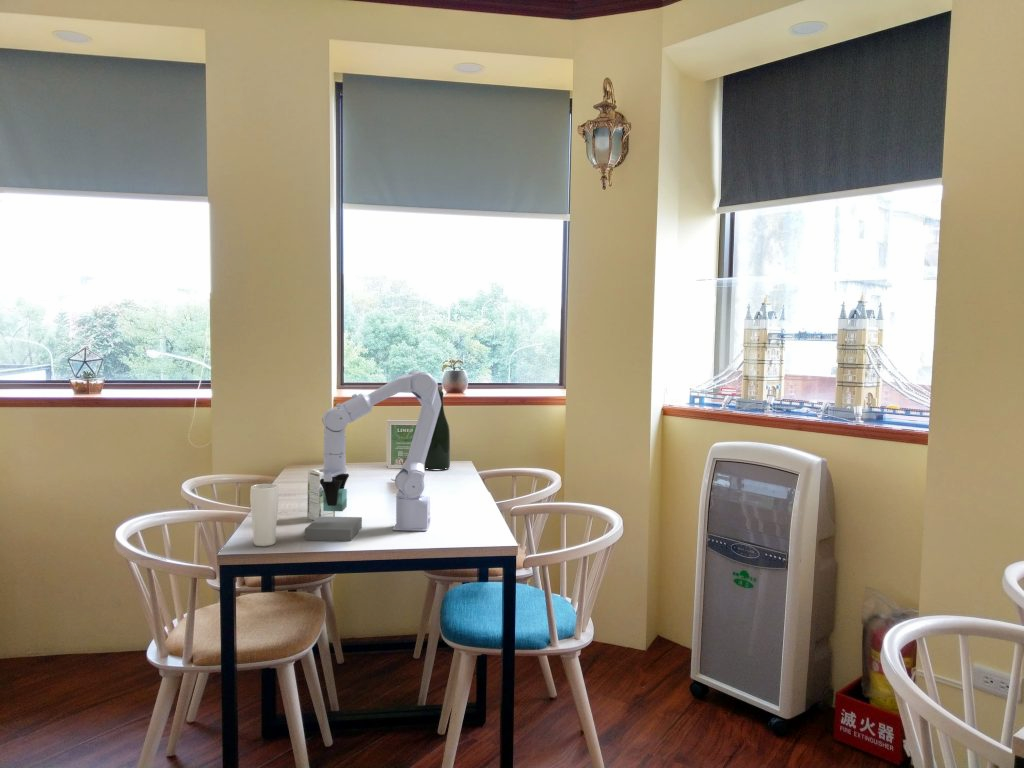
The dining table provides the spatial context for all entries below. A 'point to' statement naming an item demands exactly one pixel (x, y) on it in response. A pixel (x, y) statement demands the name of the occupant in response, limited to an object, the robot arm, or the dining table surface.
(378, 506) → the dining table surface
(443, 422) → the dark green bottle
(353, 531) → the gray square slab
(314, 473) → the syrup box
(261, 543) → the drinking glass
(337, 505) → the teal cube
